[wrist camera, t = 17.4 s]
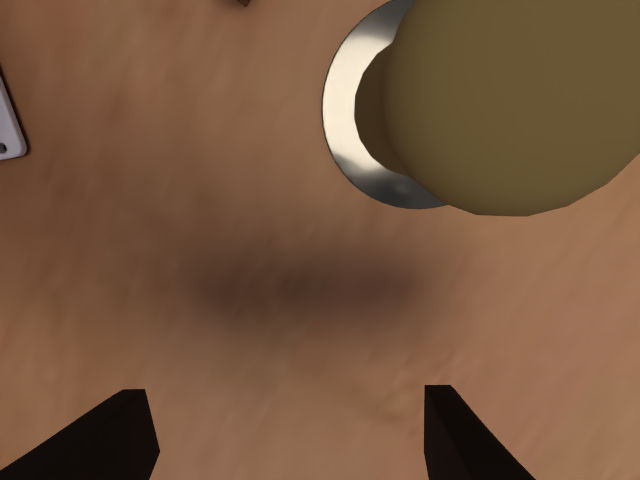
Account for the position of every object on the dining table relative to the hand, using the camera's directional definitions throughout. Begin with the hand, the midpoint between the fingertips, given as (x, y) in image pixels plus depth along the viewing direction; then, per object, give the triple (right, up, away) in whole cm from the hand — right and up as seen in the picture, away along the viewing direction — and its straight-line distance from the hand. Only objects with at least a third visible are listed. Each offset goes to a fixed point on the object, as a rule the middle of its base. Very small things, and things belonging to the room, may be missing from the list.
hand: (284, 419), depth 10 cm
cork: (+5, +10, +7) cm, 14 cm away
